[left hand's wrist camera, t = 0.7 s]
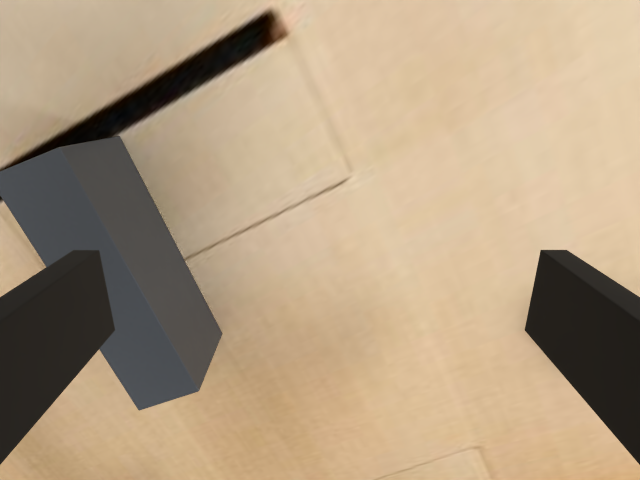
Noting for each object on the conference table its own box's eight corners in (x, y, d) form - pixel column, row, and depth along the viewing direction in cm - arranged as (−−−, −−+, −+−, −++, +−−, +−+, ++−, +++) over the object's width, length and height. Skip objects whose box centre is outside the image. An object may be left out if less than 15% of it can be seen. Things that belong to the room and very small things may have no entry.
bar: (63, 158, 38) (-13, 176, 29) (119, 135, 37) (59, 147, 29) (173, 350, 45) (138, 411, 36) (222, 333, 44) (199, 391, 35)
